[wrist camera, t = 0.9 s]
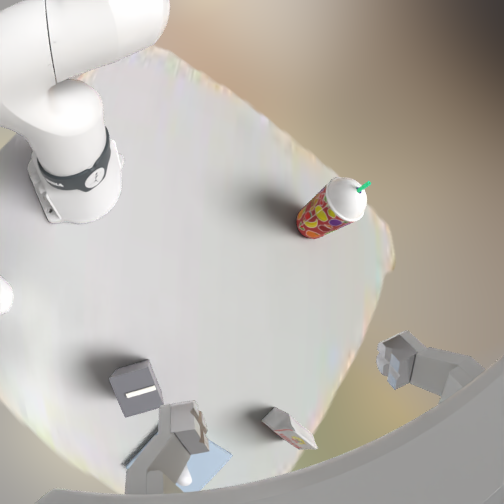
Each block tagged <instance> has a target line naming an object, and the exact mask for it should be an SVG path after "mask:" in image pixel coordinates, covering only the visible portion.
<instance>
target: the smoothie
mask: <svg viewBox="0 0 504 504" xmlns="http://www.w3.org/2000/svg"><path fill="white" fill-rule="evenodd" d="M370 184H371V183H370V182H369V181H368V182H367V183H365V184H364V185H361V184H360V183H359V182H357V181H356V180H354V179H351V178H342V177H336V178H334V179H331V181H330V182H329V183H328V184H327V185H326V186H325V187H324V188H323V189H322V190H321V191H320V192H319V193H318V194H317V195H316V196H315V197H314V198H313V199H312V200H311V201H310V202H309V203H308V204H307V205H306V206H305V207H303V208H302V209H301V210H300V212H299V213H298V216H297V221H296V222H297V228H298V230H299V232H300V233H301V234H302V235H303V236H305V237H308V238H312V239H316V238H319V237H322V236H324V235H326V234H328V233H330V232H333V231H335V230H337V229H339V228H341V227H344V226H346V225H348V224H350V223H352V222H355V221H357V220H359V219H361V217H362V216H363V214H364V210H365V208H366V204H367V196H366V192H365V190H364V189H365V188H366V187H368V186H369V185H370Z"/></svg>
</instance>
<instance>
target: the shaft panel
mask: <svg viewBox="0 0 504 504" xmlns="http://www.w3.org/2000/svg"><path fill="white" fill-rule="evenodd" d="M155 435H158V432H157V433H156V434H155ZM155 435H154V436H155ZM154 436H153V437H154ZM153 437H152V438H153ZM152 438H151V439H150V440H149V441H148V443H149V442H150V441H151V440H152ZM208 442H209V452H204V453H199V454H193V455H191V457H190V458H189V460H188V462H187V464H186V466H185V468H184V470H183V472H182V474H181V475H180V477H179V479H178V481H177V483H176V486H178V487H179V488H180V489H181V490H182V491H183V492H184V493H185V492H195V491H200V490H201V489H202V488H203V487H204V486H205V485H206V484H207V483H208V482H209V481H210V480H211V479H212V478H213V477H214V476H215V475H216V474H217V472H218V471H219V470H220V469H221V468H222V467H223V466H224V465H225V464H226V463H227V462H228V461H229V459H230V458H231V457H232V456H233V455H232V454H231V453H229V452H228V451H226V450H225V449H223V448H221V447H220V446H218V445H216V444H215V443H213V442H212V441H210V440H209V439H208ZM148 443H147V444H146V445H145V446H144V447H143V448H142V449H141V450H140V451H139V452H138V453H137V454H136V455H135V456H134V458H133V459H132V460H131V461H130V462H129V463H128V464H127V465H126V468H127V469H129V467H130V466H131V465H132V464H133V462H134V461H135V460H136V459H137V457H138V456H139V455H140V454H141V452H142V451H143V450H144V448H145V447H146V446H147V445H148Z"/></svg>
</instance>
